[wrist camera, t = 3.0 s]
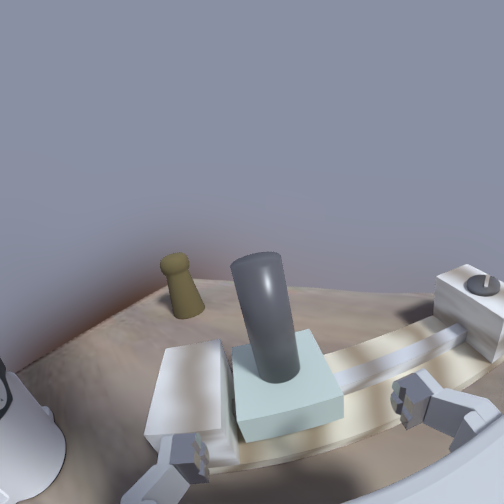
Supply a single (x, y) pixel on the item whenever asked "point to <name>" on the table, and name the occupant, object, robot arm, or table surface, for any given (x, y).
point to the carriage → (277, 359)
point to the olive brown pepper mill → (181, 286)
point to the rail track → (365, 401)
